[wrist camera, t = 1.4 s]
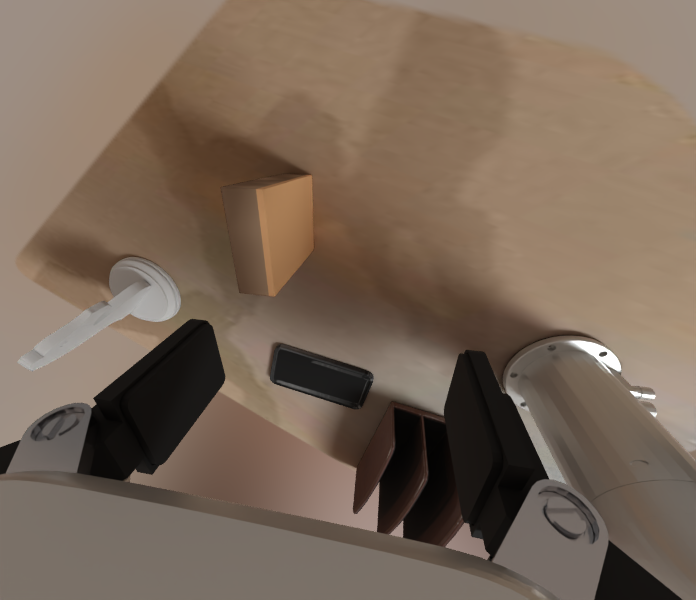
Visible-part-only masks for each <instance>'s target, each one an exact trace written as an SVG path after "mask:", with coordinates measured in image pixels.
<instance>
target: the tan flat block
mask: <svg viewBox="0 0 696 600" xmlns="http://www.w3.org/2000/svg"><path fill="white" fill-rule="evenodd" d="M221 192H222V198H223V203H224V209H225V215H226V220H227V226H228V231H229V237H230V243H231V248H232V254H233V259H234V265H235V271H236V276H237V282H238V287H239V293H245V294H254V295H264V296H273V297H275V296H276V295H277V293H278V292H279V291H280V290H281V289H282V287H283V286H284V285H285V284H286V283H287V281H288V280H289V279H290V278H291V277H292V275H293V274H294V273H295V272H296V271H297V269H298V268H299V267H300V266H301V265H302V263H303V262H304V261H305V260H306V259H307V257H308V256H309V255H310V254H311V253H312V251H313V250H314V228H313V193H312V175H303V174H280V175H275V176H270V177H266V178H261V179H256V180H252V181H247V182H242V183H238V184H233V185H228V186H223V187H221Z"/></svg>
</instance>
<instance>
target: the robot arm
mask: <svg viewBox="0 0 696 600" xmlns="http://www.w3.org/2000/svg"><path fill="white" fill-rule="evenodd" d="M621 372H622V370H621V364H620V362H619V360H618V358H617V356H616V355H615V354H614V353H613V352H612V351H611V350H610V349H609V348H608V347H606V346H605V345H604V344H602V343H600V342H598V341H596V340H594V339H591V338H587V337H582V336H573V335H572V336H557V337H551V338H547V339H544V340H541V341H538V342H535V343H533V344H531V345H529V346H527V347H526V348H524V349H522V350H521V351H519V352H518V353H517V354H516V355H515V356H514V357H513V358H512V359H511V360H510V361H509V363H508V364H507V366H506V368H505V370H504V374H503V386H504V388H505V391H506V393H507V394H504V393H502V391H501V389H500V387H499V384H498V382H497V380H496V377H495V375H494V373H493V370H492V368H491V366H490V363H489V361H488V359H487V356H486V354H485V353H484V352H481V351H472V350H466V351H465V353H464V354H461V353H460V354H459V356H458V359H457V363H456V367H455V370H454V374H453V377H452V381H451V385H450V388H449V392H448V395H447V399H446V403H445V407H444V417H445V423H446V429H447V435H448V440H449V446H450V452H451V457H452V463H453V469H454V474H455V480H456V486H457V492H458V497H459V503H460V509H461V514H462V519H463V521H464V523H469V525H470V531H471V536H472V537H475V538H480V539H483V540H484V545H485V549H486V551H487V552H488V553H489V554H490V556H489V558H488V560H485V559H483V558H480V557H477V556H474V555H470V554H467V553H463V552H459V551H456V550H452V549H449V548H445V547H441V546H436V545H432V544H428V543H423V542H419V541H414V540H410V539H406V538H401V537H396V536H392V535H388V534H383V533H379V532H374V531H369V530H364V529H359V528H354V527H349V526H345V525H339V524H334V523H330V522H325V521H320V520H316V519H311V518H306V517H301V516H296V515H291V514H286V513H281V512H276V511H271V510H267V509H262V508H257V507H251V506H246V505H242V504H236V503H232V502H227V501H222V500H217V499H212V498H207V497H202V496H197V495H191V494H186V493H181V492H176V491H170V490H166V489H161V488H155V487H150V486H145V485H140V484H135V483H130V475H131V473H132V472H133V471H134V470H135V469H136V470H137V472H141V473H146V474H151V475H152V474H153V473H154V472H155V470H156V469H157V468H158V466H159V465H162V464H163V463H165V462H166V460H167V459H168V458H169V457H170V455H171V454H172V452H173V451H174V450H175V448H176V447H177V446H178V444H179V443H180V442H181V440H182V439H183V437H184V436H185V435H186V434H187V432H188V431H189V430H190V428H191V427H192V426H193V424H194V423H195V422H196V420H197V418H199V416H200V415H201V413H202V412H203V411H204V409H205V408H206V407H207V405H208V404H209V403H210V401H211V400H212V398H213V397H214V396H215V395H216V393H217V392H218V391H219V389H220V388H221V387H222V385H223V384H224V381H225V373H224V369H223V365H222V361H221V357H220V354H219V350H218V346H217V342H216V338H215V334H214V330H213V327H212V326H211V325H210V324H209V322H208V321H205V320H197V319H190V320H189V321H187V322H186V323H185V324H184V325H182V326H181V327H180V328H179V329H177V330H176V331H175V332H174V333H173V334H171V335H170V336H169V337H168V338H166V339H165V340H164V341H163V342H162V343H160V344H159V345H158V346H157V347H155V348H154V349H153V350H152V351H151V352H149V353H148V354H147V355H146V356H144V357H143V358H142V359H141V360H140V361H138V362H137V363H136V364H135V365H133V366H132V367H131V368H130V369H129V370H127V371H126V372H125V373H124V374H122V375H121V376H120V377H119V378H118V379H116V380H115V381H114V382H113V383H111V384H110V385H109V386H108V387H107V388H105V389H104V390H103V391H102V392H100V393H99V394H98V395H97V396H96V397H94V398H93V399H94V400H95V402H96V405H95V406H94V407H93V408H91V407H90V406H89V405H88V404H85V403H73V404H68V405H65V406H62V407H59V408H56V409H54V410H52V411H50V412H48V413H46V414H45V415H43V416H42V417H40V418H39V419H37V420H36V421H35V422H34V423H33V424H32V425H31V426H30V427H29V428H28V429H27V430H26V432H25V433H24V435H23V437H22V439H21V440H19V441H16V442H14V443H11V444H8V445H6V446H3V447H0V600H696V460H695V459H694V458H693V457H692V456H691V455H690V454H689V453H688V452H687V451H686V449H685V448H684V447H683V446H682V445H681V444H680V443H679V442H678V441H677V440H676V439H675V438H674V437H673V436H672V435H671V434H670V433H669V432H668V431H667V430H666V429H665V428H664V427H663V426H662V425H661V423H660V422H659V421H658V420H657V419H656V418H655V417H656V414H657V412H656V408H655V407H654V405H653V404H651V403H650V402H643V401H638V400H637V399H636V398H639V399H646V400H652V399H654V397H655V392H654V391H653V389H651V388H648V387H640V386H631V385H630V384H629V383H628V382H627V381H626V380H625V379H624V378H623V377H622V376H621ZM515 404H516V405H517V406H518V407H520V408H522V409H524V410H526V411H529V412H530V413H531V415H532V417H533V419H534V421H535V423H536V425H537V427H538V429H539V431H540V433H541V434H542V436H543V438H544V440H545V442H546V444H547V446H548V448H549V450H550V452H551V454H552V456H553V458H554V460H555V462H556V464H557V466H558V468H559V470H560V472H561V474H562V476H563V478H564V480H565V482H566V484H567V485H566V484H564V483H561V482H558V481H556V480H549V478H548V476H547V473H546V471H545V469H544V467H543V465H542V462H541V460H540V458H539V456H538V454H537V452H536V449H535V447H534V445H533V443H532V441H531V439H530V436H529V434H528V432H527V430H526V428H525V426H524V423H523V421H522V419H521V417H520V415H519V413H518V410H517V408H516V406H515Z"/></svg>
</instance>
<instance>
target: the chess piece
mask: <svg viewBox="0 0 696 600" xmlns="http://www.w3.org/2000/svg"><path fill="white" fill-rule="evenodd" d="M109 286H110V290H111V292H112V294H113V296H114V298H113V299H112V300H110V301H109V302H108V303H107V302H105V301H101V302H99V303H97V304H95V305H93V306H92V307H90V308H88V309H86V310H84V311H83V312H82V313H81V314H80V315H79V316H78V317H76V318H75V319H73V320H72V321H71V322H69V323H68V324H66V325H65V326H63V327H61V328H60V329H58V330H57V331H56V332H54V333H52V334H50V335H49V336H47V337H46V338H44V339H43V340H42V341H41V342H39V343H38V344H37V345H36V346H35V347H34V349H33V350H31V351H29V352H28V353H26V354H25V355H23V356H22V357H20V360H19V361H18V362H17V363H19V364H20V365H22V366H23V367H25V368H27V369H28V370H30V371H34V370H36V369H37V368H38V369H39V368H40V367H43V366H45V365H47V364H49V363H51V362H53V361H54V360H56V359H58V358H60V357H61V356H63V355H65V354H66V353H68V352H70V351H71V350H73V349H74V348H76V347H77V346H79V345H80V344H82V343H84V342H85V341H86V340H88V339H89V338H91V337H92V336H94V335H95V334H96V333H98V332H99V331H101V330H102V329H104V328H105V327H107V326H109V325H110V324H112V323H113V322H115V321H118V320H121V319H123V318H124V317H125V316H127V315H128V314H129V313H130V314H132V315H133V316H135V317H137V318H140V319H142V320H147V321H154V322H159V321H164V320H167V319H170V318H172V317H173V316H174V315H175V314H176V313H177V312H178V311H179V309H180V305H181V298H180V293H179V290H178V288H177V286H176V284H175V282H174V281H173V279H172V278H171V277H170V276H169V275H168V274H167V273H166V272H165V271H164V270H163V269H162V268H161V267H159V266H158V265H156V264H155V263H153V262H151V261H149V260H147V259H143V258H139V257H128V258H125V259H122V260H120V261H119V262H117V263H116V264H115V265H114V266H113V267H112V269H111V272H110V277H109Z"/></svg>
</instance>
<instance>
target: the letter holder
mask: <svg viewBox="0 0 696 600" xmlns="http://www.w3.org/2000/svg"><path fill="white" fill-rule="evenodd" d="M379 482H380V484H379V507H378V526H377V532H379V533H383V534H388V535H389V534H390V533H391V532H392V531H393V530H394V529H395V528H396V527H397V526H398V525H399V524H400V523H401V522H402V521H404V522H403V538H406V539H410V540H414V541H419V542H423V543H428V544H432V545H436V546H441V547H445V546H446V545H447V544H448V543H449V541H450V540H451V539H452V538H453V537H454V536H455V535H456V533H457V532H458V531H459V529H460V528H461V527H462V525H463V524H464V521H463V519H462V514H461V509H460V503H459V497H458V492H457V486H456V480H455V474H454V469H453V463H452V457H451V452H450V446H449V440H448V435H447V429H446V423H445V418H444V417H441V416H438V415H435V414H432V413H428V412H425V411H422V410H419V409H416V408H413V407H409V406H406V405H403V404H400V403H397V402H393V401H392V402H391V403H390V406H389V407H388V410H387V411H386V413H385V415H384V417H383V419H382V421H381V423H380V425H379V426H378V428H377V430H376V432H375V434H374V436H373V438H372V440H371V442H370V443H369V446H368V447H367V449H366V451H365V453H364V455H363V457H362V459H361V461H360V463H359V465H358V467H357V471H356V482H355V493H354V503H353V512H354V514H357V513H358V512H359V511H360V510H361V509H362V507H363V506H364V505H365V503H366V502H367V501H368V499H369V497H370V496H371V494H372V492H373V491H374V489H375V488H376V486H377V485H378V483H379Z"/></svg>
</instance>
